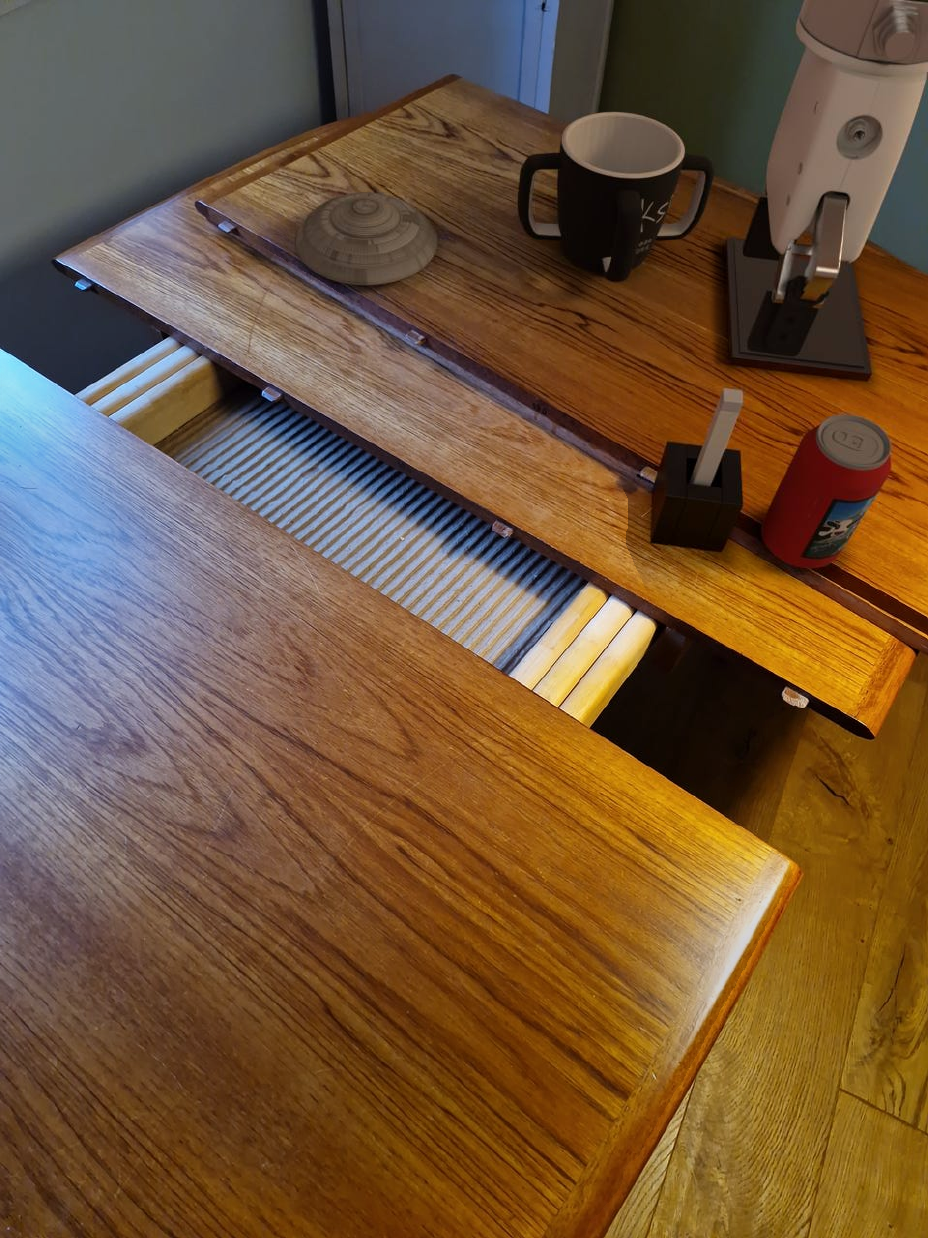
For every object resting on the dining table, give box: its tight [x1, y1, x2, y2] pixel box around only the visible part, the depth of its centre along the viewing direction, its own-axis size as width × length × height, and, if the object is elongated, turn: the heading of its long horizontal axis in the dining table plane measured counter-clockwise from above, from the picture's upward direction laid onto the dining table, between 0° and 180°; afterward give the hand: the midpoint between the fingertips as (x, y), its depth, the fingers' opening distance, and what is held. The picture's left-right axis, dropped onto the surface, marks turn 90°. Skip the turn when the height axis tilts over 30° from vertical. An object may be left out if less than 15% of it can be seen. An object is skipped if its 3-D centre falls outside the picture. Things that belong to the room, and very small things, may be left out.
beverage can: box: [760, 413, 892, 569], centre depth 70 cm, size 7×7×12 cm
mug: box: [517, 111, 715, 283], centre depth 92 cm, size 16×16×12 cm
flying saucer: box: [294, 191, 439, 286], centre depth 93 cm, size 15×15×6 cm
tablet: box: [723, 236, 873, 382], centre depth 92 cm, size 14×20×1 cm
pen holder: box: [649, 440, 744, 554], centre depth 74 cm, size 6×6×6 cm
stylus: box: [689, 387, 744, 486], centre depth 70 cm, size 1×1×14 cm
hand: (767, 301), depth 58 cm, fingers open, 9 cm apart
